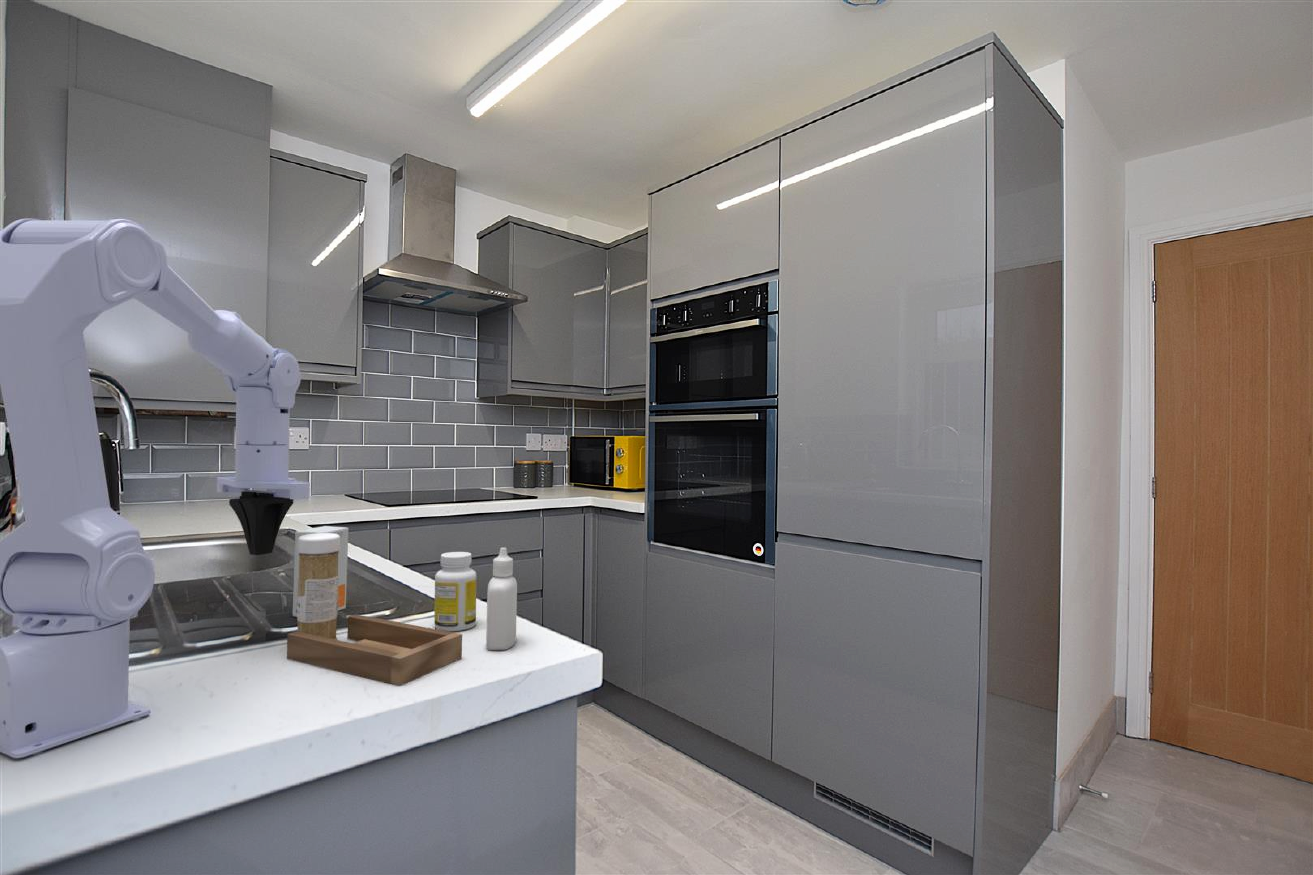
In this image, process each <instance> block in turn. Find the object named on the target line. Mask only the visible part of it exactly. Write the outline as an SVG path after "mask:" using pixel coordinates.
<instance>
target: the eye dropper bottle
mask: <svg viewBox="0 0 1313 875" xmlns="http://www.w3.org/2000/svg"><path fill="white" fill-rule="evenodd" d="M513 566H514V559H513V557H510V556H509V555H508V550H507V547H500V549H499V553H498V556H496V557H495V558H493V559H492V578H491V579H490V580H489V582H488V585H487V592H486V594H487V595H486V600H487V601H486V635H485V636H486V637H485V640H486V643H485V646H486V648H487V650H490V651H506V650H508V649H510V648H512V647H513V646H515V643H516V640H517V609H518V605H517V604H518V603H517V601H518V599H517V598H518V582H517V580H516V578H515V577H514V576H513V574H514V573H513V572H514V567H513Z"/></svg>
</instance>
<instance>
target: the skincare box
mask: <svg viewBox="0 0 1313 875" xmlns="http://www.w3.org/2000/svg"><path fill="white" fill-rule="evenodd" d="M316 533H333V534H338V535H339V536H340V550H339V554H338V612H339V611H342V610H345V609H346V607H347V606H346V605H347V581H348V552H349V527H347V526H346V527H345V526H330V525H323V526H318V527H312V528H307V529H302V530H297V531H295V533H294V534H295V536H294V538H295V539H294V561H293V562H294V564H293V567H294V568H293V570H294V571H293V590H292V591H293V593H292V594H293V595H292V616H293V617H295V618H297V606H298V583H299V558H300V556H299V554H300V553H299V552H298V538H299V537H300V536H303V535H307V534H316Z"/></svg>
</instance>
